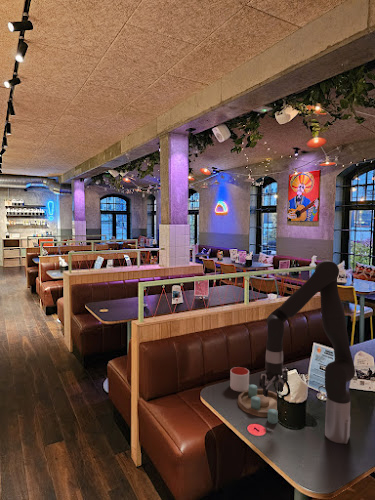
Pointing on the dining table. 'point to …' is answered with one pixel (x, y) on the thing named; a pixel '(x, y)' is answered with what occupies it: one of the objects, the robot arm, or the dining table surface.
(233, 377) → the cup
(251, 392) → the bead
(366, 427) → the dining table surface
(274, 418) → the bead
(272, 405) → the tray
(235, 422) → the dining table surface
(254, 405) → the bead
